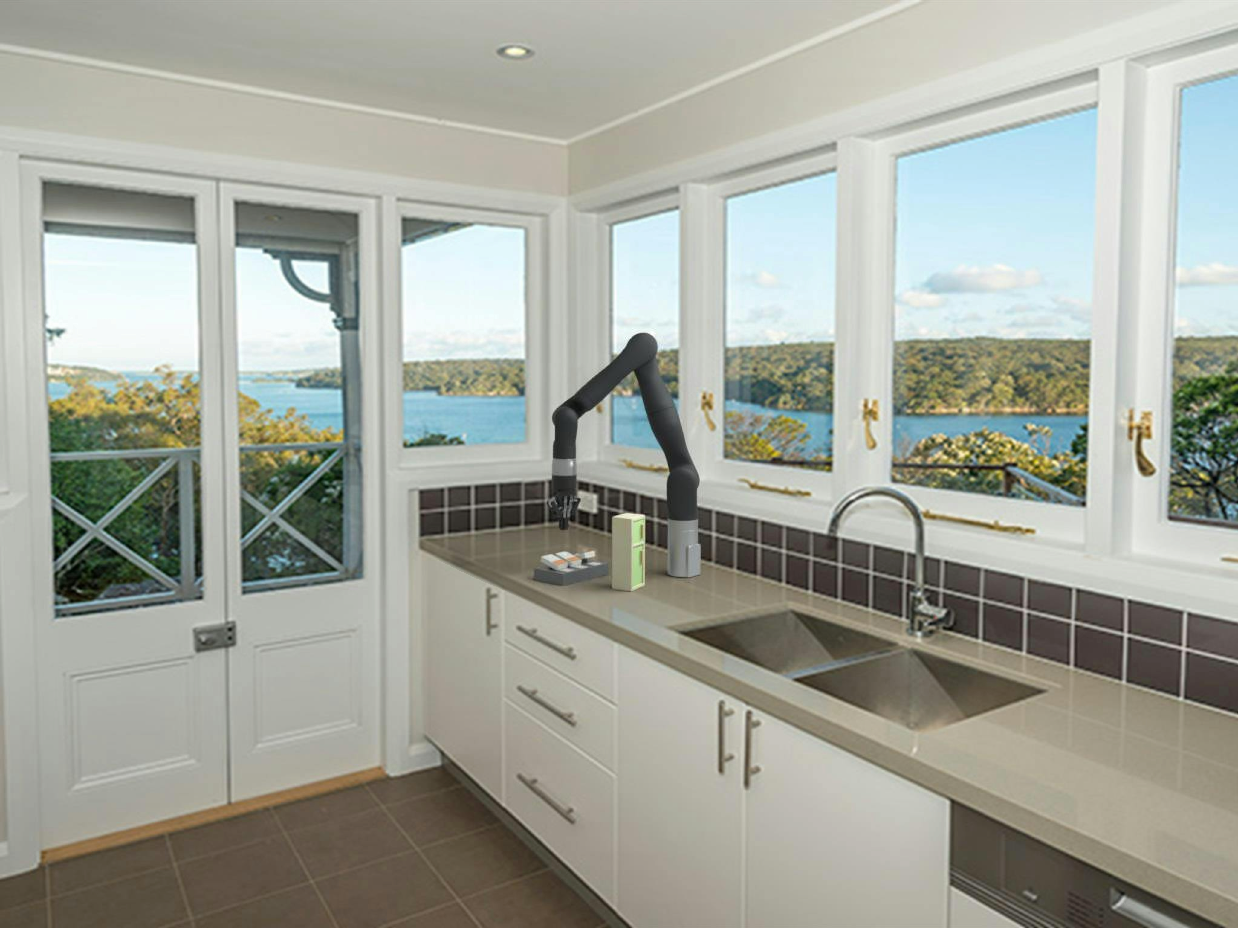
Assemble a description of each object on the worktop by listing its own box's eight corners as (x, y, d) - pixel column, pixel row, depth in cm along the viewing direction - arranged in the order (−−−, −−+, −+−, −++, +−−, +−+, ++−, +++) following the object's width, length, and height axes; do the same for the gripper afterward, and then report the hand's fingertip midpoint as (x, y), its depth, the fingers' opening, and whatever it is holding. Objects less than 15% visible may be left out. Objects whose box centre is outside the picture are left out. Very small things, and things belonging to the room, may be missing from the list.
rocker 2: (595, 556, 288) (594, 550, 288) (585, 558, 285) (584, 552, 285) (579, 558, 293) (578, 553, 293) (569, 561, 290) (568, 555, 290)
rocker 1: (567, 568, 280) (568, 562, 279) (556, 570, 276) (557, 564, 276) (550, 558, 284) (551, 553, 283) (540, 561, 281) (541, 555, 280)
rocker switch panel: (617, 572, 291) (617, 558, 290) (562, 585, 273) (562, 571, 272) (588, 566, 298) (588, 553, 298) (534, 579, 280) (534, 565, 280)
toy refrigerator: (633, 592, 265) (633, 518, 263) (611, 588, 269) (611, 516, 267) (647, 586, 272) (647, 514, 270) (625, 583, 276) (625, 512, 274)
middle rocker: (580, 564, 284) (581, 559, 284) (570, 567, 281) (571, 561, 280) (564, 555, 288) (565, 550, 288) (554, 558, 285) (555, 552, 285)
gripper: (557, 476, 275) (557, 534, 277) (588, 472, 285) (587, 528, 287) (539, 473, 280) (539, 530, 282) (570, 470, 290) (570, 525, 292)
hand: (563, 529), depth 285 cm, fingers closed
